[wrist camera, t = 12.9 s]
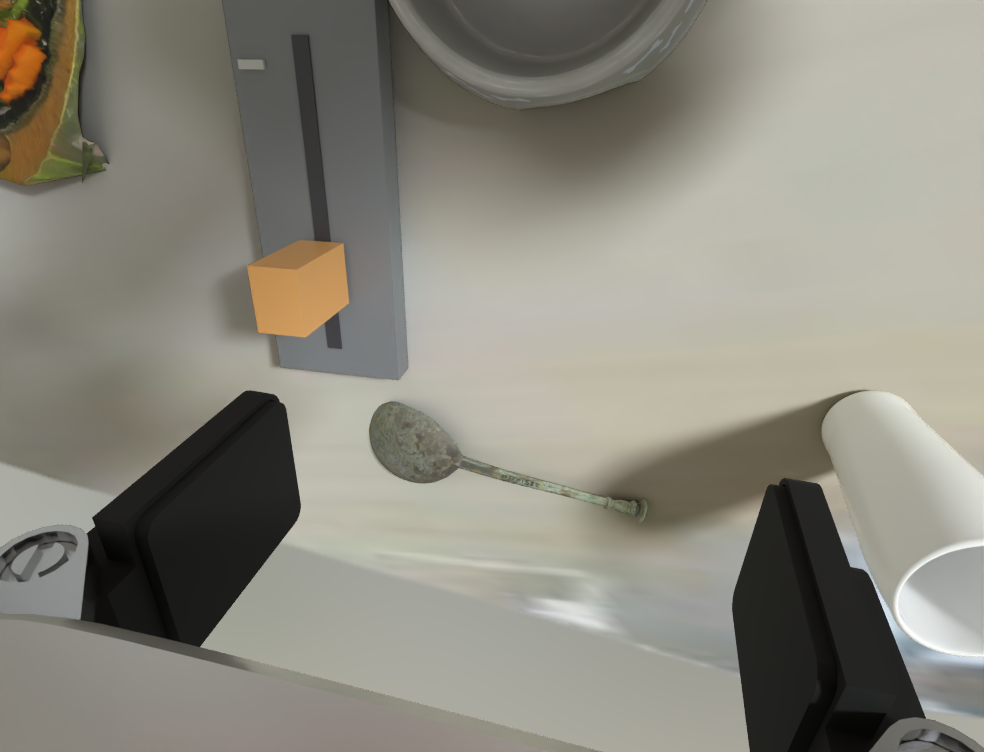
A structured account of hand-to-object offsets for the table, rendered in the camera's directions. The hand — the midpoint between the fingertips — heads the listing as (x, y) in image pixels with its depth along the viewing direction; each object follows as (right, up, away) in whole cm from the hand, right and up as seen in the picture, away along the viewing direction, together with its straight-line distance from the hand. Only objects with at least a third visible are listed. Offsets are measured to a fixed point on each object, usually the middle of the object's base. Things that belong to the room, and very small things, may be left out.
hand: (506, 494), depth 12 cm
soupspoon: (+1, -4, +35) cm, 35 cm away
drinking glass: (+23, -1, +27) cm, 36 cm away
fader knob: (-11, +9, +28) cm, 31 cm away
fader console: (-11, +14, +28) cm, 33 cm away
